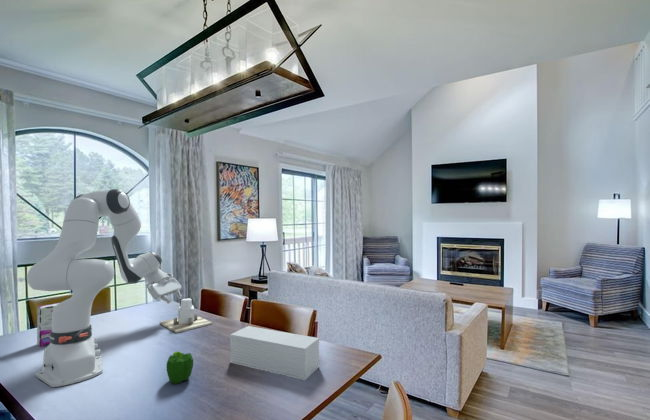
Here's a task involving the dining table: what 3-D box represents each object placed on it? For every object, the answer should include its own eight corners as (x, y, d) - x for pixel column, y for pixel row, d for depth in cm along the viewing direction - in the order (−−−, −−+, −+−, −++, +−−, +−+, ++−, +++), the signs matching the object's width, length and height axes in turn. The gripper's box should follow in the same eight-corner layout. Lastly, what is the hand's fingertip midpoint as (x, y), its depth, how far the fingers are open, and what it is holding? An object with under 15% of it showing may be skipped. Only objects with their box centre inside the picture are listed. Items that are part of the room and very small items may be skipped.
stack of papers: (230, 363, 121) (230, 334, 122) (248, 352, 131) (248, 325, 131) (305, 381, 108) (305, 348, 108) (318, 367, 118) (318, 338, 118)
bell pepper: (185, 371, 114) (185, 343, 114) (197, 379, 109) (197, 349, 109) (160, 380, 108) (161, 350, 108) (172, 389, 102) (172, 357, 103)
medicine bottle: (178, 320, 168) (178, 297, 168) (193, 318, 171) (193, 296, 171) (178, 324, 161) (178, 300, 162) (193, 322, 164) (194, 299, 165)
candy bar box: (68, 337, 147) (69, 300, 148) (71, 339, 144) (72, 302, 145) (36, 344, 139) (37, 306, 139) (39, 347, 136) (40, 308, 136)
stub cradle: (211, 324, 166) (211, 316, 166) (176, 333, 153) (176, 324, 153) (193, 316, 179) (194, 308, 180) (159, 323, 166) (159, 316, 166)
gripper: (149, 280, 158) (167, 300, 156) (173, 273, 178) (190, 291, 177) (140, 289, 158) (158, 309, 157) (165, 281, 179) (182, 299, 177)
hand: (175, 300), depth 167 cm, fingers open, 8 cm apart
